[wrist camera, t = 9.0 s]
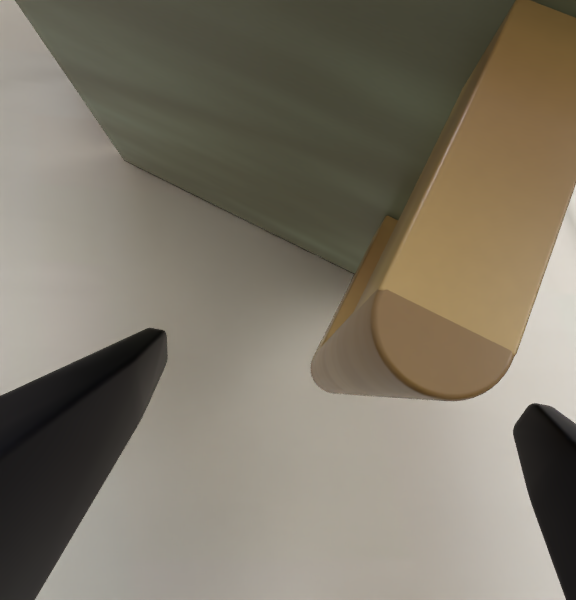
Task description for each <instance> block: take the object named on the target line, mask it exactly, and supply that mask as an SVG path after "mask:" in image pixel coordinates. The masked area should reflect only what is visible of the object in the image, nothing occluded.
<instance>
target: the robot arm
mask: <svg viewBox="0 0 576 600" xmlns="http://www.w3.org/2000/svg"><path fill="white" fill-rule="evenodd" d="M167 356H168V355H167V335H166V332H165V331H163V330H159V329H154V328H147V329H145V330H143V331H141V332H138V333H136V334H134V335H132V336H130V337H128V338H125V339H123V340H121V341H119V342H117V343H115V344H112V345H110V346H108V347H106V348H104V349H101V350H99V351H97V352H95V353H93V354H91V355H88V356H86V357H84V358H82V359H80V360H78V361H75V362H73V363H71V364H69V365H67V366H65V367H62V368H60V369H58V370H56V371H54V372H51V373H49V374H47V375H45V376H43V377H41V378H38V379H36V380H34V381H32V382H30V383H28V384H25V385H23V386H21V387H19V388H17V389H15V390H12V391H10V392H8V393H6V394H4V395H1V396H0V600H35V598H36V597H37V595H38V593H39V592H40V590H41V588H42V587H43V585H44V583H45V582H46V580H47V578H48V576H49V575H50V573H51V571H52V570H53V568H54V566H55V565H56V563H57V561H58V560H59V558H60V556H61V554H62V553H63V551H64V549H65V548H66V546H67V544H68V543H69V541H70V539H71V538H72V536H73V534H74V533H75V531H76V529H77V527H78V526H79V524H80V522H81V521H82V519H83V517H84V516H85V514H86V512H87V511H88V509H89V507H90V505H91V504H92V502H93V500H94V499H95V497H96V495H97V494H98V492H99V490H100V489H101V487H102V485H103V483H104V482H105V480H106V478H107V477H108V475H109V473H110V472H111V470H112V468H113V467H114V465H115V463H116V461H117V460H118V458H119V456H120V455H121V453H122V451H123V450H124V448H125V446H126V445H127V443H128V441H129V440H130V438H131V436H132V434H133V433H134V431H135V429H136V428H137V426H138V424H139V422H140V420H141V419H142V417H143V414H144V412H145V410H146V408H147V406H148V404H149V401H150V399H151V397H152V395H153V392H154V390H155V388H156V386H157V384H158V381H159V379H160V377H161V375H162V372H163V370H164V368H165V366H166V363H167ZM513 435H514V439H515V443H516V447H517V451H518V455H519V459H520V463H521V467H522V471H523V475H524V479H525V483H526V487H527V490H528V494H529V497H530V500H531V503H532V506H533V509H534V512H535V515H536V518H537V520H538V523H539V526H540V529H541V532H542V534H543V537H544V540H545V543H546V545H547V548H548V551H549V554H550V556H551V559H552V562H553V565H554V568H555V570H556V573H557V576H558V579H559V581H560V584H561V587H562V590H563V592H564V595H565V598H566V600H576V424H575V423H574V422H572V421H571V420H570V419H568V418H567V417H565V416H564V415H563V414H561V413H560V412H559V411H557V410H556V409H555V408H553V407H551V406H547V405H542V404H537V403H534V404H531V405H529V406H528V407H527V408H526V410H525V411H524V413H523V414H522V415H521V417H520V418H519V420H518V421H517V422H516V424H515V426H514V430H513Z"/></svg>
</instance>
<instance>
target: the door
mask: <svg viewBox="0 0 576 600" xmlns="http://www.w3.org/2000/svg"><path fill="white" fill-rule="evenodd" d="M15 1H16V3H17V4H18V5H19V7H20V8H21V10H22V11H23V13H24V14H25V16H26V17H27V19H28V20H29V22H30V23H31V24H32V26H33V27H34V29H35V30H36V32H37V33H38V35H39V36H40V38H41V39H42V41H43V42H44V43H45V45H46V46H47V48H48V49H49V51H50V52H51V54H52V55H53V57H54V58H55V60H56V61H57V63H58V64H59V65H60V67H61V68H62V70H63V71H64V73H65V74H66V76H67V77H68V79H69V80H70V82H71V83H72V84H73V86H74V87H75V89H76V90H77V92H78V93H79V95H80V96H81V98H82V99H83V101H84V102H85V104H86V105H87V106H88V108H89V109H90V111H91V112H92V114H93V115H94V117H95V118H96V120H97V121H98V123H99V124H100V125H101V127H102V128H103V130H104V131H105V133H106V134H107V136H108V137H109V139H110V140H111V142H112V143H113V144H114V146H115V147H116V149H117V150H118V152H119V153H120V155H121V156H122V158H123V159H124V160H125V161H127V162H129V163H131V164H133V165H135V166H137V167H139V168H141V169H143V170H145V171H147V172H149V173H151V174H153V175H155V176H157V177H159V178H161V179H163V180H165V181H167V182H169V183H171V184H173V185H175V186H177V187H179V188H181V189H183V190H185V191H187V192H189V193H192V194H194V195H196V196H198V197H200V198H202V199H204V200H206V201H208V202H210V203H212V204H214V205H216V206H218V207H220V208H222V209H224V210H226V211H228V212H230V213H232V214H234V215H236V216H238V217H240V218H242V219H244V220H246V221H248V222H250V223H252V224H254V225H256V226H258V227H260V228H262V229H264V230H266V231H268V232H271V233H273V234H275V235H277V236H279V237H281V238H283V239H285V240H287V241H289V242H291V243H293V244H295V245H297V246H299V247H301V248H303V249H305V250H307V251H309V252H311V253H313V254H315V255H317V256H319V257H321V258H323V259H325V260H327V261H329V262H331V263H333V264H335V265H337V266H339V267H341V268H343V269H345V270H347V271H350V272H352V273H354V274H355V275H354V277H353V279H352V281H351V283H350V285H349V287H348V289H347V291H346V293H345V294H344V296H343V298H342V300H341V302H340V304H339V306H338V308H337V310H336V312H335V314H334V316H333V318H332V320H331V322H330V324H329V326H328V328H327V330H326V332H325V334H324V336H323V338H322V340H321V342H320V344H319V346H318V348H317V350H316V352H315V354H314V356H313V359H312V361H311V375H312V378H313V380H314V382H315V383H316V384H317V385H318V386H319V387H320V388H321V389H322V390H324V391H326V392H329V393H334V394H349V395H364V396H379V397H394V398H409V399H424V400H439V401H460V400H466V399H470V398H474V397H476V396H479V395H481V394H483V393H485V392H486V391H488V390H489V389H491V388H492V387H493V386H494V385H496V384H497V383H498V382H499V381H500V379H501V378H502V377H503V376H504V375H505V373H506V372H507V370H508V369H509V367H510V365H511V363H512V360H513V358H514V356H515V355H516V353H517V350H518V347H519V345H520V342H521V339H522V336H523V333H524V330H525V327H526V325H527V322H528V319H529V316H530V313H531V310H532V307H533V305H534V302H535V299H536V296H537V293H538V290H539V287H540V285H541V282H542V279H543V276H544V273H545V270H546V267H547V265H548V262H549V259H550V256H551V253H552V250H553V247H554V245H555V242H556V239H557V236H558V233H559V230H560V227H561V225H562V222H563V219H564V216H565V213H566V210H567V207H568V205H569V202H570V199H571V196H572V193H573V190H574V187H575V185H576V0H15Z"/></svg>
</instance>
